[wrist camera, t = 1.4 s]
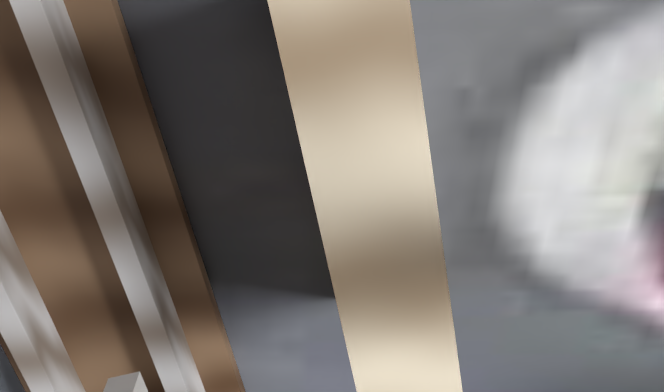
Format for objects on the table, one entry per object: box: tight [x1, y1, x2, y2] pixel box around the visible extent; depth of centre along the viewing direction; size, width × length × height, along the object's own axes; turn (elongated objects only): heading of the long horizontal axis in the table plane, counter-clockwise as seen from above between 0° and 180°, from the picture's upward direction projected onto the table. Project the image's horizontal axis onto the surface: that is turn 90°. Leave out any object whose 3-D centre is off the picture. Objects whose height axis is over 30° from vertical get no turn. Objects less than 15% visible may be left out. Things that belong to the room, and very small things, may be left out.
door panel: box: [267, 0, 463, 392], centre depth 24 cm, size 18×4×14 cm, turn 11°
